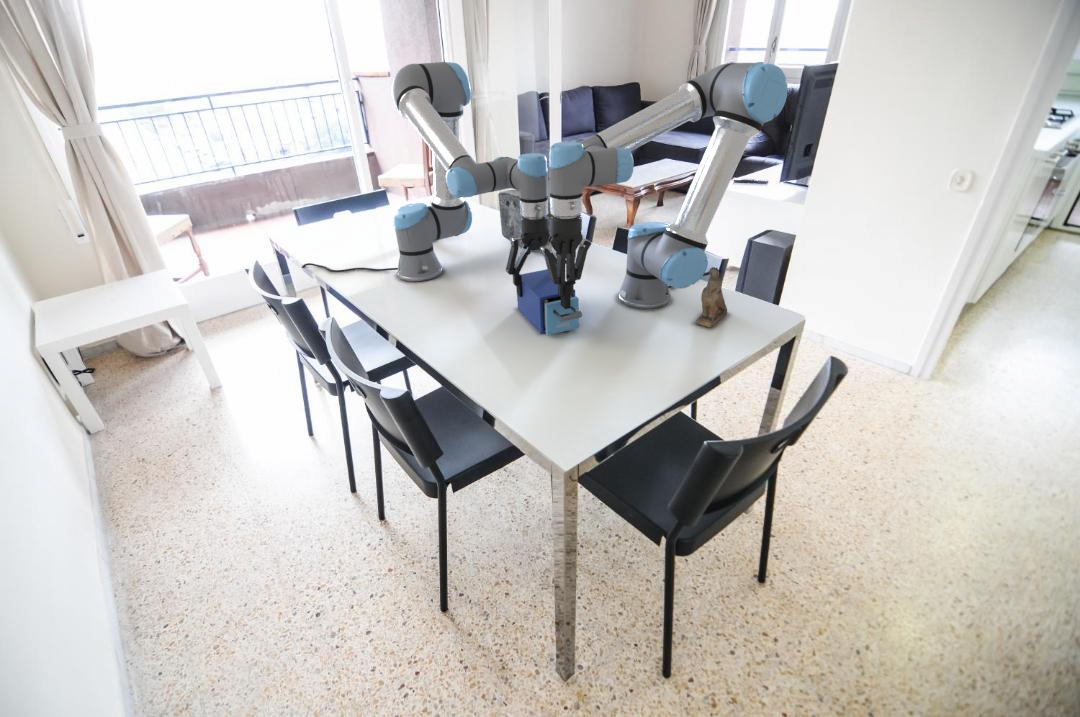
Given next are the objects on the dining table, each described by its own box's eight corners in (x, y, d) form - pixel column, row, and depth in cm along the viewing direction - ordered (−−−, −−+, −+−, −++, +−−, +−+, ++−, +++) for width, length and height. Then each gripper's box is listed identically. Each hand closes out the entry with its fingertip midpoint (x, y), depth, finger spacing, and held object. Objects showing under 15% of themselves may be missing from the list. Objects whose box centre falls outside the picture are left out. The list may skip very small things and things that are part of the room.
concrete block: (558, 253, 189) (557, 199, 178) (539, 258, 184) (537, 204, 174) (519, 237, 207) (516, 187, 197) (501, 241, 203) (497, 191, 193)
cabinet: (575, 325, 139) (575, 290, 133) (540, 333, 135) (539, 297, 130) (549, 301, 153) (548, 268, 147) (517, 308, 149) (515, 275, 144)
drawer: (587, 336, 131) (588, 305, 127) (556, 344, 128) (555, 313, 124) (553, 304, 149) (552, 277, 144) (524, 311, 146) (523, 282, 141)
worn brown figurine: (709, 335, 136) (713, 280, 124) (691, 329, 139) (693, 274, 128) (730, 313, 142) (736, 258, 130) (712, 307, 145) (716, 253, 133)
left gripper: (498, 225, 127) (504, 304, 138) (579, 213, 134) (578, 288, 146) (489, 218, 133) (496, 294, 144) (566, 207, 140) (567, 280, 152)
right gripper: (547, 222, 110) (548, 317, 123) (598, 215, 115) (594, 307, 127) (534, 214, 116) (536, 305, 129) (583, 207, 121) (581, 296, 133)
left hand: (537, 291), depth 145 cm, fingers closed on cabinet, 10 cm apart
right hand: (565, 306), depth 128 cm, fingers closed
